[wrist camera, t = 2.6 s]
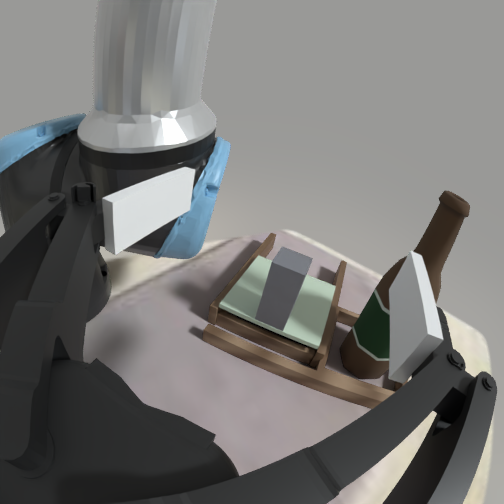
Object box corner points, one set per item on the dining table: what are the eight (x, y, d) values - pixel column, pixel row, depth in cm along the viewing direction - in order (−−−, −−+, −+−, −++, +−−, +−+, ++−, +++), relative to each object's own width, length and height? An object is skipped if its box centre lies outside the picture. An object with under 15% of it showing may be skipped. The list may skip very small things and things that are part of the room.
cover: (218, 307, 33) (229, 245, 28) (257, 258, 43) (270, 206, 38) (317, 349, 30) (348, 293, 25) (334, 289, 40) (356, 239, 35)
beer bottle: (327, 345, 35) (411, 173, 22) (366, 332, 38) (444, 184, 25) (357, 390, 29) (476, 215, 16) (395, 370, 32) (496, 219, 19)
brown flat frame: (195, 336, 32) (197, 320, 30) (267, 246, 53) (271, 232, 51) (398, 415, 26) (412, 404, 24) (398, 298, 46) (406, 286, 45)
